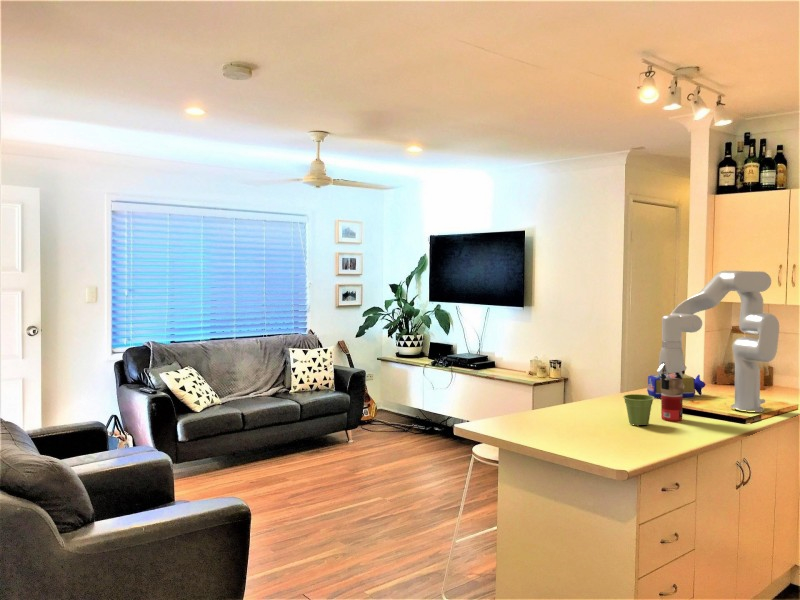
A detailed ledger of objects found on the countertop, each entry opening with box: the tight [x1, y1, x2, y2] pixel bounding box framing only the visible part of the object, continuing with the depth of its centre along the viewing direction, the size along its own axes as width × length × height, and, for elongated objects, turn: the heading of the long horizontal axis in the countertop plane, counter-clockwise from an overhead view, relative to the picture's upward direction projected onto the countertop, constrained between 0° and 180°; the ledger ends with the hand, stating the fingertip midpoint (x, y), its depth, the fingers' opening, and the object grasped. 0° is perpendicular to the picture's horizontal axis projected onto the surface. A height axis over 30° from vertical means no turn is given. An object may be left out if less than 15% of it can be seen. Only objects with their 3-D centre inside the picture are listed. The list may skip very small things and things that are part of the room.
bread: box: [646, 373, 707, 399], centre depth 303 cm, size 10×25×10 cm, turn 90°
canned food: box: [660, 393, 684, 423], centre depth 260 cm, size 8×8×11 cm
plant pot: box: [622, 393, 655, 426], centre depth 254 cm, size 12×12×11 cm
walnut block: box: [661, 377, 683, 395], centre depth 259 cm, size 6×6×6 cm
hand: (671, 387), depth 259 cm, fingers open, 7 cm apart
